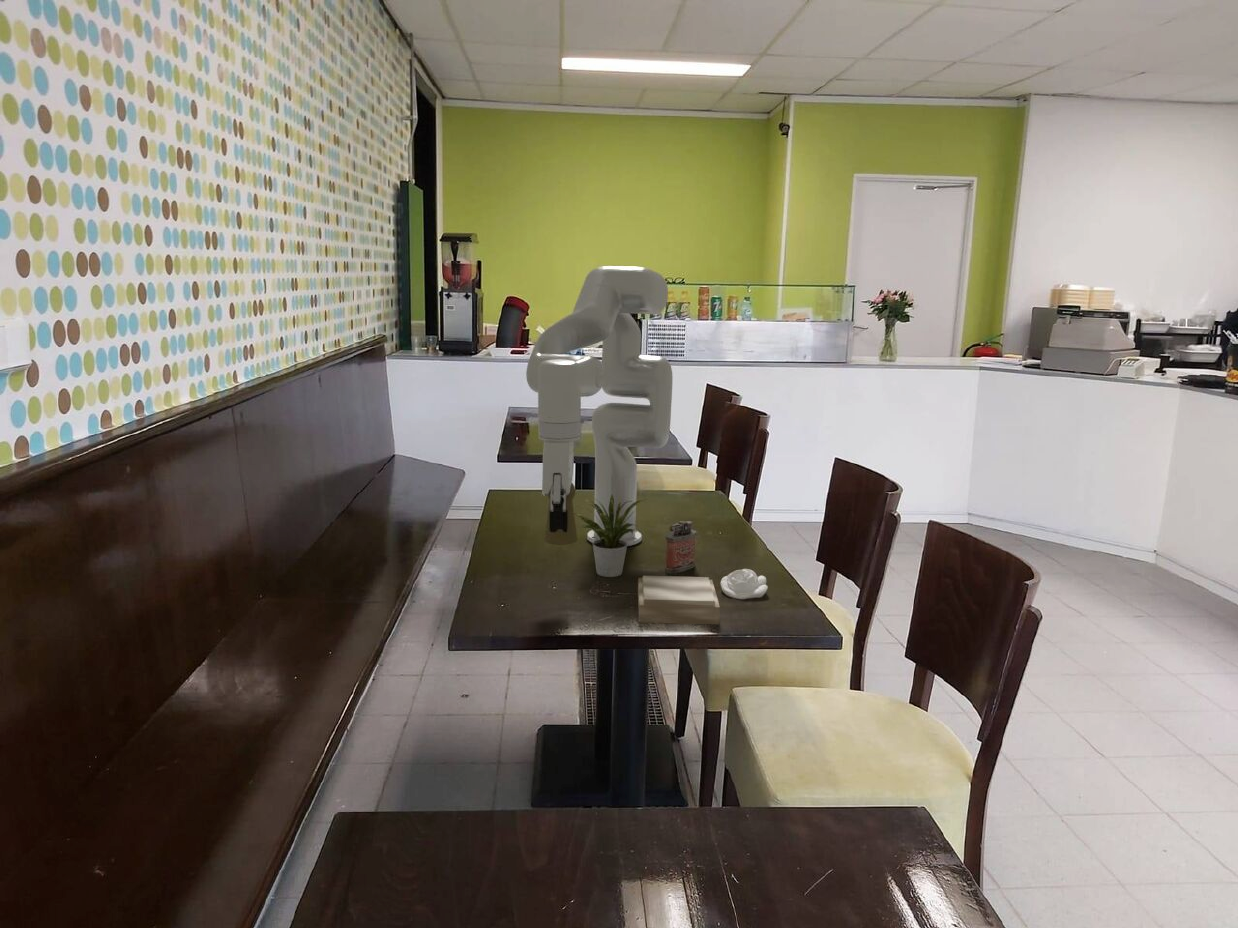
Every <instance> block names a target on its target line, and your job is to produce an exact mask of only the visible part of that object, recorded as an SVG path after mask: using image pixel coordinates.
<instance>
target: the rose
mask: <svg viewBox="0 0 1238 928" xmlns="http://www.w3.org/2000/svg"><path fill="white" fill-rule="evenodd" d="M720 588H721V590H722V592H723V593H724V594H725V596H728V597H729V598H730V597H731V598H733V599H737V600H746V599H754V598H755V599H756V598H763V596H764V595H765V594H766V592H767V591H768V588H769V586H768V585H767V578H766V576H764V575H759V576H758V575H757V574H756V572H755V571H754V570H752V569H748V568H743V569H737V570H734V571H732V572H730V573H729V574H728V575H726V576H723V577H722V578H721V580H720Z"/></svg>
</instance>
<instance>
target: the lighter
mask: <svg viewBox="0 0 1238 928" xmlns="http://www.w3.org/2000/svg"><path fill="white" fill-rule="evenodd" d="M692 527H693V522H692V521H691V520H690V521H689V520H687V521H683V520H679V521H678V522H677V523H673V524H671V525H669V532H671V533H668V534H666V535H665V540H666V550H665V551H666V556H665V565H664V572H666V573H669V574H676V573H680V572H685V571H687V570H690V569H692V568H695V567H696V560H695V555H696V554H695V553H696V552H695V551H696V550H695V549H696V536H697V530H695V529H692Z"/></svg>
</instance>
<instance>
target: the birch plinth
mask: <svg viewBox="0 0 1238 928" xmlns="http://www.w3.org/2000/svg"><path fill="white" fill-rule="evenodd" d="M637 579H638V580H637V584H638V585H637V601H638V602H637V603H638V608H637V609H638V623H646V624H647V623H648V624H649V623H650V624H680V625H681V624H684V625H685V624H687V625H691V624H692V625H720V611H721V607H720V603H719V599H718V595H717V593H716V589H715V585H714V582H713V579H710V577H708V576H706V577H705V576H676V575H675V576H671V575H670V576H668V575H642V577H638V578H637Z"/></svg>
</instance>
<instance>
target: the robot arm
mask: <svg viewBox="0 0 1238 928" xmlns="http://www.w3.org/2000/svg"><path fill="white" fill-rule="evenodd" d="M667 283H668V282H667V281H666V278H665V277H664V275H662V274H661V273H660V272H657V271H654V270H652V269H650V268H647V267H642V266H613V265H608V266H606V265H603V266H598V267H596V268H593V269H592V270H590V271H589V273H588V274H587V275H586V277H585V280H584V281H583V285H582V287H581V289H580V292H579V295H578V297H577V300H576V303H575V305H574V307H573V311H572V312H571V313H570V314H568V315H566V316H565V317H563V318H561V319H559V320H558V321H556V322H555V323H554V324H552V325H551V326H550V327H548V328H547V329H545V330H544V331H543V332H542V333H541V334H540V335H539V336H538V338H537V340H536V342H535V344H534V346H533V348H532V351H531V353H530V356H529V359H528V362H527V366H526V372H525V373H526V377H525V378H526V382H527V385H528V387H529V388H530V389H531V390H532V391H533V392H534V393H537V401H538V402H537V418H538V420H537V422H538V423H537V429H538V431H537V436H538V437H537V438H538V439H539V440H541V441H543V449H542V477H541V478H542V480H541V481H542V484H541V487H542V488H541V494H542V495H543V496H544V497H545V496H547V494H549V491H550V489H551V495H550V497H551V504H550V532H557V530H558V529H562V530H563V531H564V532H567V526H568V510H566V496H567V495H569V493H570V489H571V484H572V483H573V476H574V460H575V459H574V457H575V455H574V454H575V453H574V452H575V450H574V449H575V447H574V446H575V441H578V440H580V439H581V438H582V437H581V434H582V433H581V431H582V430H581V429H582V428H581V424H582V423H581V419H582V418H581V417H582V414H581V413H582V412H581V410H582V407H581V406H582V403H581V400H582V399H581V398H583V397H585V398H588V397H591V396H595V395H596V394H597V393H599V392H600V390H601V389H602V391H603V392H604V394H607V395H608V396H610V397H611V396H612V397H618V398H633V399H646V400H648V402H649V404H638V403H637V404H636V403H627V402H626V403H623V402H607V403H603V404H601V405H599V406H598V407H596V408H595V409H594V411H593V413H592V417H591V429H592V435H593V441H594V442H593V443H594V458H595V459H594V464H595V465H594V467H595V468H594V469H595V470H594V498H595V499H594V503H595V504H597V505H598V506H599V507H600V508H601V510H602V511H603V513H604V514H605V512H604V510H603V508H602V506H601V504H602V505H603V507H604V508H605V510H606V512H607V514H608V516H609V511H608V509H609V502H610V497H611V495H613V498H614V524H615V519H616V511H617V506H618V504H619V502H620V503H621V504H620V505H621V506H622V505H623V504H624V503H625V502H627V503H626V504H625V505H624V506H623V507H622V508H621V507H620V508H621V510H620V512H619V517H620V516H622V515H624V513H625V511H626V510H627V508H628V507H629V506H630V505H632V504H633V503H634V502H636V501H637V486H638V485H637V482H638V481H637V479H638V464H637V461H636V459H635V456H634V455H633V454H632V452H631V451H630V449H629V448H631V447H632V448H633V447H635V448H645V449H661V448H664V447H665V445H667V444H668V441H669V438H670V432H671V415H672V400H673V399H672V398H673V379H674V378H673V377H674V376H673V369H672V366H671V362H670V361H669V360H668V359H667V358H665V357H664V356H659V355H645V354H641V353H642V352H641V347H642V346H641V344H642V343H641V342H642V333H641V332H642V331H641V329H640V327H639V325H638V323H637V322H636V320H635V319H634V317H632V314H639V315H640V314H641V315H658V314H660V313H662V312H663V311H664V309H665V308H666V306H667V303H668V299H669V288H668V284H667ZM601 342H602V351H601V360H600V359H598V358H597V357H595V356H592V355H587V354H586V355H583V354H572V353H571V354H570V353H569V352H573V351H576V350H579V349H584V348H587V347H589V346H592V345H596V344H598V343H601ZM568 353H569V354H568ZM563 488H564V490H563ZM561 491H564V494H561ZM561 498H563V500H562V499H561ZM598 501H599V502H600V503H601V504H600V503H599V502H598ZM628 501H631V502H628ZM593 508H594V507H593ZM597 510H598V509H597ZM597 510H596V509H595V508H594V512H593V518H594V519H593V521H594V522H596V523H597V524H598V525H599V526H600V527H601V528H602V529H603V530H604V529H605V528H604V525H603V523H602V521H601V518H600V516H599V514H598V512H597ZM635 510H636V511H635ZM634 511H635V512H634ZM632 513H633V514H632ZM631 514H632V515H631ZM600 515H601V514H600ZM605 515H606V514H605ZM630 515H631V516H630ZM629 516H630V517H629ZM596 517H597V518H598V519H597V518H596ZM619 517H618V518H619ZM628 517H629V518H628ZM636 517H637V504H636V505H635V506H634V507H633V508H632V509H631V510H630V512H629V513H628V514H627V516H626V518H625V520H626V519H627V518H628V519H627V520H626V522H625V523H624V522H623V523H624V524H623V525H625V524H627V523H630V524H633V526H630V527H628V528H627V529H632V530H635V531H633V534H632V533H631V532H628V533H626V534H624V535H623V536H622V537H621V538H620V539H619V540H623V541H625V542H626V543H627V547H630V546H634V545H637V544H639V543H641V541H642V540H643V537H642V536H643V535H642V533H641V532H639V531H638V530H636V526H635V525H636V523H637V522H636V521H637V520H636ZM625 520H624V521H625ZM599 521H600V522H599ZM601 524H602V525H601ZM602 526H603V527H602ZM621 526H622V525H621ZM613 528H614V525H613ZM620 528H621V527H620ZM606 535H607V534H606ZM586 538H587V541H588V542H590V543H591V544H593V542H594V541H596V540H599V539H600V537H599V536H598V535H597V533H596V532H595V531H594V530H593V529H591V530H589V532H587V534H586Z"/></svg>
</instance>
